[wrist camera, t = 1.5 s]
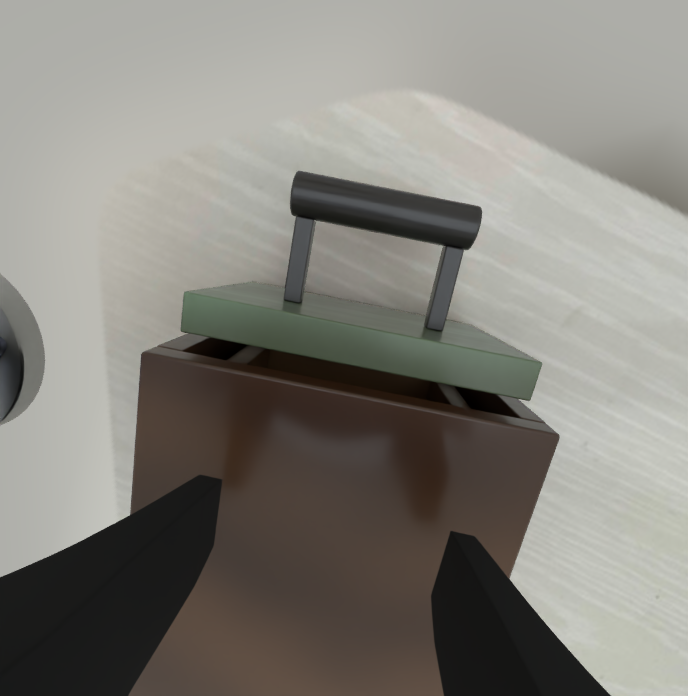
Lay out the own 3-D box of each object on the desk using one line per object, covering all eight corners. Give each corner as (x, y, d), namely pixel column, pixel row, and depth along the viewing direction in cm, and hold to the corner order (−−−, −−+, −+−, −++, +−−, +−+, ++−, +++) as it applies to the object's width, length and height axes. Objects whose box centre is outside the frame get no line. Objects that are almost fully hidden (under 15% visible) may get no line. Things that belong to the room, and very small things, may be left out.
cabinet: (241, 311, 18) (139, 351, 10) (469, 357, 18) (561, 435, 10) (213, 525, 21) (116, 697, 13) (411, 565, 21) (444, 763, 13)
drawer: (265, 185, 16) (198, 129, 9) (498, 231, 16) (594, 207, 9) (223, 495, 20) (153, 613, 13) (414, 533, 20) (442, 671, 13)
